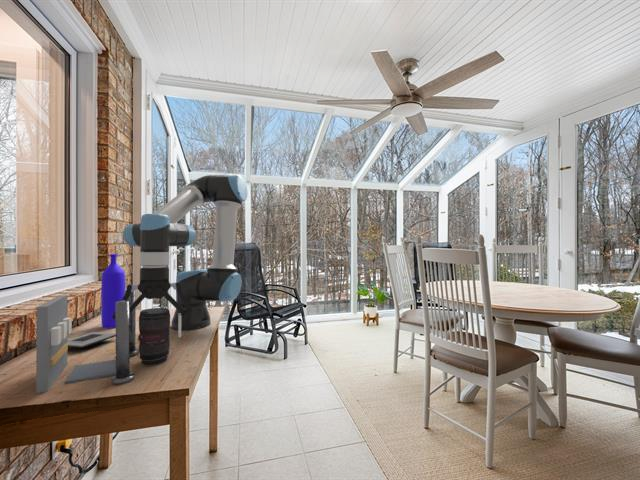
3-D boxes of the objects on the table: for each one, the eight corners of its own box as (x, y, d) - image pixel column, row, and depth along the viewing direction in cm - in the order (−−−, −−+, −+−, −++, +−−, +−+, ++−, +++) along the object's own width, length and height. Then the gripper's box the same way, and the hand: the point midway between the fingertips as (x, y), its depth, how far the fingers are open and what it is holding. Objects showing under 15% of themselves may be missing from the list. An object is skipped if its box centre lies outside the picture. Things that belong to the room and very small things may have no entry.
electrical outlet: (81, 352, 95) (81, 344, 95) (55, 350, 98) (55, 342, 98) (117, 339, 108) (117, 332, 108) (93, 337, 110) (93, 331, 110)
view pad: (122, 360, 90) (122, 358, 90) (117, 374, 80) (117, 372, 80) (75, 367, 85) (75, 365, 85) (64, 383, 75) (64, 381, 75)
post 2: (139, 350, 98) (139, 288, 98) (138, 355, 93) (138, 290, 93) (121, 353, 95) (121, 289, 96) (119, 358, 91) (119, 292, 91)
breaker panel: (73, 364, 87) (73, 294, 87) (55, 390, 72) (55, 305, 72) (58, 366, 85) (58, 295, 85) (36, 393, 70) (36, 307, 70)
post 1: (135, 374, 80) (135, 298, 80) (133, 382, 76) (133, 302, 76) (112, 378, 78) (112, 300, 78) (109, 386, 73) (109, 304, 73)
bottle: (112, 322, 131) (112, 253, 131) (130, 323, 130) (130, 253, 130) (96, 328, 123) (96, 254, 123) (114, 328, 122) (114, 254, 122)
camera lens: (148, 369, 83) (148, 314, 83) (133, 363, 88) (133, 311, 88) (175, 359, 90) (175, 309, 90) (160, 354, 94) (160, 306, 94)
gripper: (198, 264, 98) (198, 330, 98) (105, 267, 86) (104, 341, 86) (201, 266, 91) (201, 336, 91) (100, 269, 80) (99, 349, 79)
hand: (154, 339), depth 89 cm, fingers open, 13 cm apart
